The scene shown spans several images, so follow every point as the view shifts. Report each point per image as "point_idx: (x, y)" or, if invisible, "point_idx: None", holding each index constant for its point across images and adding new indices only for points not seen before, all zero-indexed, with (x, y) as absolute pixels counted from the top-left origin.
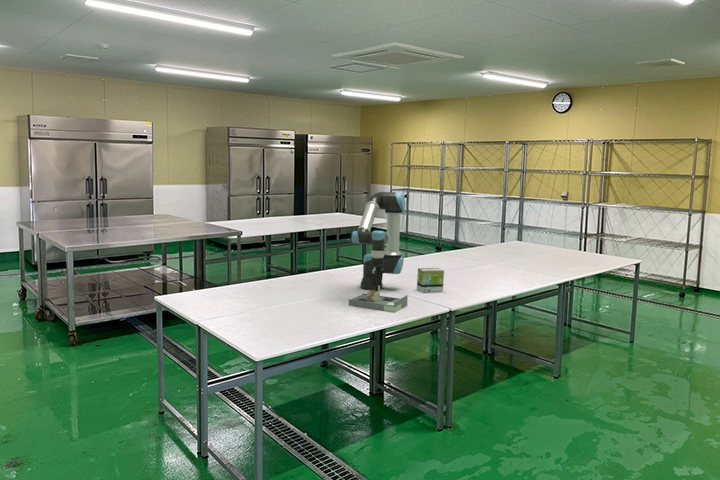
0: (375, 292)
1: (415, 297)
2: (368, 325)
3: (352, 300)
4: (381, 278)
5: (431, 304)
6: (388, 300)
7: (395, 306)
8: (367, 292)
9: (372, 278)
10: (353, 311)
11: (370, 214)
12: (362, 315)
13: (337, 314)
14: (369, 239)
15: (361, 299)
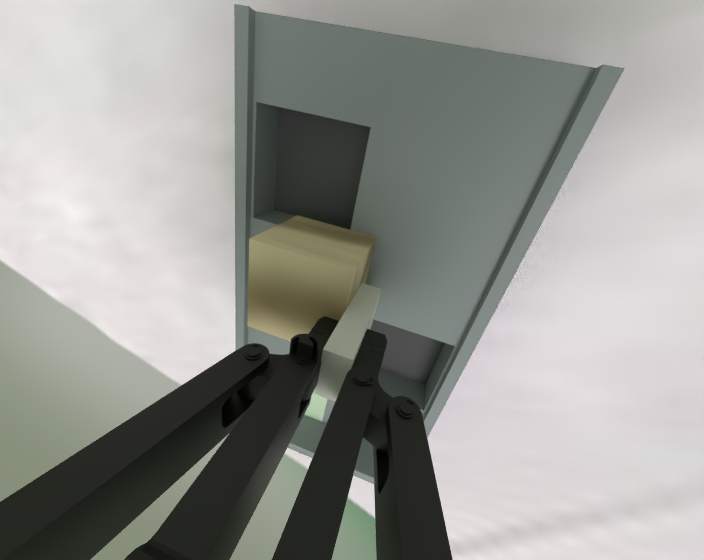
0: (264, 324)
1: (665, 504)
2: (40, 281)
3: (238, 68)
4: (378, 525)
5: (466, 525)
6: (444, 355)
7: None
8: (253, 241)
9: (128, 420)
10: (150, 148)
11: None
12: (122, 227)
13: (36, 57)
14: None
15: (370, 136)
